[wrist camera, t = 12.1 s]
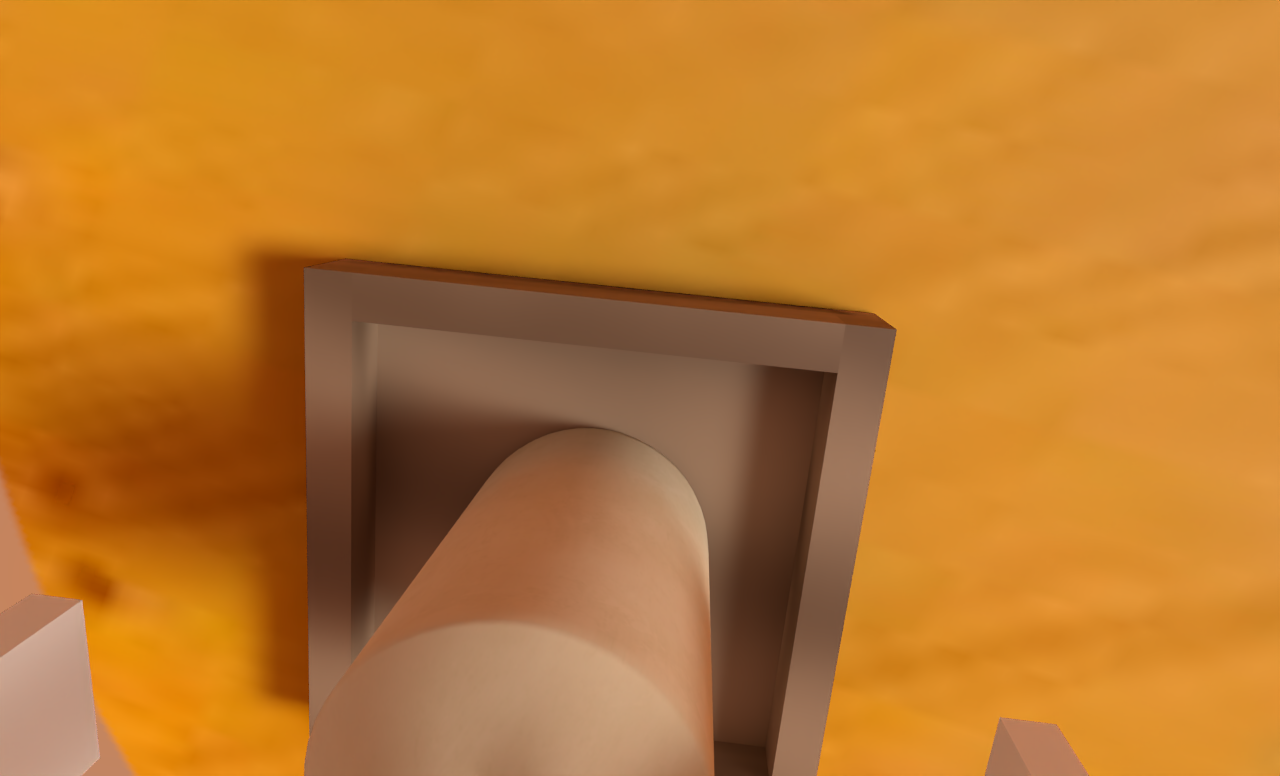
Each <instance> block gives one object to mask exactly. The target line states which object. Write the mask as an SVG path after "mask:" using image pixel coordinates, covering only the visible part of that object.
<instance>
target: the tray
mask: <svg viewBox="0 0 1280 776" xmlns="http://www.w3.org/2000/svg"><path fill="white" fill-rule="evenodd" d="M304 319H305V401H306V483H307V565H308V646H309V728H310V735H311V732H312V729H313V726H314V723H315V720H316V718H317V716H318V714H319V712H320V710H321V708H322V706H323V704H324V702H325V700H326V699H327V697H328V696H329V695H330V693H331V692H332V690H333V689H334V688H335V686H336V685H337V684H338V682H339V681H340V679H341V678H342V677H343V675H344V674H345V673H346V671H347V670H348V668H349V667H350V666H351V664H352V663H353V662H354V660H355V659H356V658H357V656H358V655H359V653H360V652H361V651H362V649H363V648H364V647H365V645H366V644H367V643H368V641H369V640H370V638H371V637H372V636H373V634H374V633H375V632H376V630H377V629H378V628H379V626H380V625H381V624H382V622H383V621H384V619H385V618H386V617H387V615H388V614H389V613H390V611H391V610H392V609H393V607H394V606H395V604H396V603H397V602H398V600H399V599H400V598H401V596H402V595H403V594H404V592H405V591H406V590H407V588H408V587H409V585H410V584H411V583H412V581H413V580H414V579H415V577H416V576H417V575H418V573H419V572H420V570H421V569H422V568H423V566H424V565H425V564H426V562H427V561H428V560H429V558H430V557H431V556H432V554H433V553H434V551H435V550H436V549H437V547H438V546H439V545H440V543H441V542H442V541H443V539H444V538H445V536H446V535H447V534H448V532H449V531H450V530H451V528H452V527H453V526H454V524H455V523H456V522H457V520H458V519H459V517H460V516H461V515H462V513H463V512H464V511H465V509H466V508H467V507H468V505H469V504H470V503H471V501H472V500H473V498H474V497H475V496H476V494H477V493H478V492H479V490H480V489H481V488H482V486H483V485H484V483H485V482H486V481H487V480H488V478H489V477H490V476H491V475H492V473H493V472H494V471H495V470H496V469H497V468H498V467H499V465H500V464H501V463H502V462H503V461H504V460H505V459H506V458H508V457H509V456H510V455H511V454H513V453H514V452H515V451H517V450H518V449H520V448H521V447H523V446H525V445H526V444H528V443H530V442H532V441H533V440H535V439H538V438H540V437H542V436H545V435H547V434H550V433H554V432H558V431H562V430H568V429H576V428H597V429H605V430H611V431H615V432H619V433H623V434H626V435H628V436H631V437H633V438H636V439H639V440H640V441H642V442H644V443H646V444H648V445H650V446H651V447H653V448H654V449H656V450H657V451H658V452H660V453H661V454H663V455H664V456H665V457H666V458H667V459H668V460H669V461H671V462H672V463H673V464H674V465H675V466H676V467H677V469H678V470H679V471H680V472H681V473H682V475H683V476H684V477H685V478H686V480H687V482H688V483H689V485H690V487H691V488H692V490H693V492H694V494H695V496H696V498H697V500H698V503H699V505H700V507H701V510H702V513H703V517H704V520H705V525H706V531H707V539H708V553H709V590H710V628H711V665H712V702H713V740H714V776H817V770H818V764H819V759H820V753H821V748H822V742H823V737H824V731H825V725H826V720H827V714H828V709H829V703H830V698H831V692H832V686H833V681H834V675H835V670H836V664H837V659H838V653H839V647H840V642H841V636H842V631H843V625H844V620H845V614H846V608H847V603H848V597H849V592H850V586H851V581H852V575H853V569H854V564H855V558H856V553H857V547H858V542H859V536H860V530H861V525H862V519H863V514H864V508H865V503H866V497H867V491H868V486H869V480H870V475H871V469H872V464H873V458H874V452H875V447H876V441H877V436H878V430H879V425H880V419H881V413H882V408H883V402H884V397H885V391H886V386H887V380H888V375H889V369H890V363H891V358H892V352H893V347H894V341H895V336H896V329H895V328H894V327H892V326H891V325H889V324H888V323H887V322H885V321H884V320H883V319H881V318H880V317H878V316H877V315H876V314H873V313H863V312H853V311H844V310H834V309H824V308H815V307H805V306H796V305H786V304H776V303H767V302H757V301H747V300H738V299H728V298H719V297H709V296H699V295H690V294H680V293H670V292H661V291H651V290H642V289H632V288H622V287H613V286H603V285H593V284H584V283H574V282H565V281H555V280H545V279H536V278H526V277H517V276H507V275H497V274H488V273H478V272H468V271H459V270H449V269H440V268H430V267H420V266H411V265H401V264H391V263H382V262H372V261H363V260H353V259H342V260H337V261H332V262H328V263H323V264H318V265H314V266H309V267H304Z"/></svg>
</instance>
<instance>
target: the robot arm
mask: <svg viewBox="0 0 1280 776" xmlns="http://www.w3.org/2000/svg"><path fill="white" fill-rule="evenodd" d="M99 758H100V753H99V743H98V734H97V726H96V717H95V708H94V699H93V691H92V682H91V673H90V664H89V655H88V647H87V638H86V629H85V620H84V612H83V603H82V600H77V599H70V598H62V597H54V596H46V595H38V594H30V595H29V596H27V597H26V598H24V599H23V600H21V601H19V602H18V603H16V604H15V605H13V606H12V607H10V608H9V609H7V610H6V611H4V612H2V613H1V614H0V776H82V775H83V774H84V773H85V772H86V771H87V770H88V769H89V768H90V767H91V766H92V765H93V764H94V763H95V762H96V761H97V760H98V759H99ZM985 776H1089V775H1088V773H1087V772H1086V770H1085V769H1084V767H1083V765H1082V764H1081V762H1080V761H1079V759H1078V758H1077V756H1076V754H1075V753H1074V751H1073V750H1072V748H1071V746H1070V745H1069V743H1068V742H1067V740H1066V739H1065V737H1064V735H1063V734H1062V732H1061V731H1060V729H1059V728H1058V726H1057V725H1056V724H1048V723H1040V722H1032V721H1024V720H1016V719H1009V718H1001V717H1000V719H999V723H998V727H997V731H996V734H995V738H994V742H993V746H992V750H991V754H990V758H989V761H988V765H987V769H986V773H985Z"/></svg>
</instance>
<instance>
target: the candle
mask: <svg viewBox="0 0 1280 776" xmlns="http://www.w3.org/2000/svg"><path fill="white" fill-rule="evenodd" d="M304 776H714V740H713V702H712V665H711V628H710V590H709V553H708V539H707V531H706V525H705V520H704V517H703V513H702V510H701V507H700V505H699V503H698V500H697V498H696V496H695V494H694V492H693V490H692V488H691V487H690V485H689V483H688V482H687V480H686V478H685V477H684V476H683V475H682V473H681V472H680V471H679V470H678V469H677V467H676V466H675V465H674V464H673V463H672V462H671V461H669V460H668V459H667V458H666V457H665V456H664V455H663V454H661V453H660V452H658V451H657V450H656V449H654V448H653V447H651V446H650V445H648V444H646V443H644V442H642V441H640V440H639V439H636V438H633V437H631V436H628V435H626V434H623V433H619V432H615V431H611V430H605V429H597V428H576V429H568V430H562V431H558V432H554V433H550V434H547V435H545V436H542V437H540V438H538V439H535V440H533V441H532V442H530V443H528V444H526V445H525V446H523V447H521V448H520V449H518V450H517V451H515V452H514V453H513V454H511V455H510V456H509V457H508V458H506V459H505V460H504V461H503V462H502V463H501V464H500V465H499V467H498V468H497V469H496V470H495V471H494V472H493V473H492V475H491V476H490V477H489V478H488V480H487V481H486V482H485V483H484V485H483V486H482V488H481V489H480V490H479V492H478V493H477V494H476V496H475V497H474V498H473V500H472V501H471V503H470V504H469V505H468V507H467V508H466V509H465V511H464V512H463V513H462V515H461V516H460V517H459V519H458V520H457V522H456V523H455V524H454V526H453V527H452V528H451V530H450V531H449V532H448V534H447V535H446V536H445V538H444V539H443V541H442V542H441V543H440V545H439V546H438V547H437V549H436V550H435V551H434V553H433V554H432V556H431V557H430V558H429V560H428V561H427V562H426V564H425V565H424V566H423V568H422V569H421V570H420V572H419V573H418V575H417V576H416V577H415V579H414V580H413V581H412V583H411V584H410V585H409V587H408V588H407V590H406V591H405V592H404V594H403V595H402V596H401V598H400V599H399V600H398V602H397V603H396V604H395V606H394V607H393V609H392V610H391V611H390V613H389V614H388V615H387V617H386V618H385V619H384V621H383V622H382V624H381V625H380V626H379V628H378V629H377V630H376V632H375V633H374V634H373V636H372V637H371V638H370V640H369V641H368V643H367V644H366V645H365V647H364V648H363V649H362V651H361V652H360V653H359V655H358V656H357V658H356V659H355V660H354V662H353V663H352V664H351V666H350V667H349V668H348V670H347V671H346V673H345V674H344V675H343V677H342V678H341V679H340V681H339V682H338V684H337V685H336V686H335V688H334V689H333V690H332V692H331V693H330V695H329V696H328V697H327V699H326V700H325V702H324V704H323V706H322V708H321V710H320V712H319V714H318V716H317V718H316V720H315V723H314V726H313V729H312V732H311V735H310V738H309V741H308V746H307V752H306V758H305V772H304Z"/></svg>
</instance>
